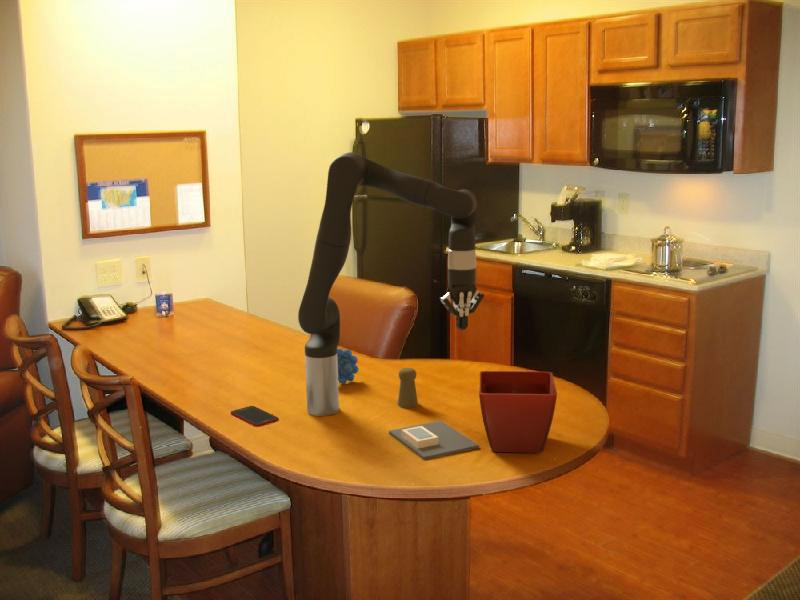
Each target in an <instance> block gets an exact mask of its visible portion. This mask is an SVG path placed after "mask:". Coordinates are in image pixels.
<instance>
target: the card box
mask: <svg viewBox="0 0 800 600" xmlns="http://www.w3.org/2000/svg"><path fill="white" fill-rule="evenodd" d="M402 438H404V439H405V440H406V441H408V442H409V443H411V444H412V445H413V446H415V447H416V448H417V449H419V448H423V447H428V446H433V445H438V437H437V436H436V435H434V434H433V433H432V432H430V431H429V430H427V429H426V428H424V427H423V426H419V427H413V428H408V429H403V430H402Z"/></svg>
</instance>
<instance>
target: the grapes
mask: <svg viewBox="0 0 800 600" xmlns="http://www.w3.org/2000/svg"><path fill="white" fill-rule="evenodd" d="M337 360H338V384H341V385H345V384H346V383H348V382H353V381H354V380H355V375H356V374H358V372H359V371H360V370H359V366H358V365H357V363H358V362H359V359H358V357H357V356H356V355H353V352H352V350H351V349H348V348H345V349H342V348H339V347H337Z"/></svg>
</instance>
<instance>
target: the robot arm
mask: <svg viewBox="0 0 800 600" xmlns="http://www.w3.org/2000/svg"><path fill="white" fill-rule="evenodd" d="M359 186H362V187H369V188H374V189H378V190H382V191H383V192H384V191H385V192H387V193H389V194H391V195H393V196H394V197H396V198H398V199H401V200H403V201H405V202H408V203H411V204H414V205H416V206H421V207H423V208H428V209H432V210H434V211H436V212H439V213H440V214H444V215H446V216H448V217H450V218H451V219H450V223H451V224H450V228H449V232H448V255H447V283H448V287H447V289H446V294H445V295H443V296H440V297H439V301H440V303H441V304H442V305H443V306H444V307H445V309H446V310H447V311H448V312H449V314H451V315H453V316H455V325H456V328H457V329H458V330H460V331H465V330H467V328H468V326H469V315H471V314H474V313H475V311H476V310H477V309H478V307H479V305H480V304H481V302H482V300H483V299H484V298H485V295H484V293H481V292H480V291H479V290H478V288H477V285H476V283H477V255H476V223H477V222H476V221H477V214H478V213H477V211H478V207H477V206H478V203H477V202H478V201H477V197H476V196H475V194H474V193H473V192H472V191H471V190H469V189H464V188H463V189H459V190H456V189H452V188H448V187H446V186H443V185H442V184H440V183H438V182H437V181H433V180H430V179H427V178H424V177H420V176H416V175H412V174H409V173H404V172H401V171H399V170H395V169H393V168H389V167H387V166H384V165H382V164H380V163H378V162H375V161H373V160H371V159H370V158H367V157H365V156H362V155H361V154H359V153H356V152H345V153H343V154H341V155H339V156H337V157H335V158H334V159H333V160H331V163H330V164H329V166H328V171H327V182H326V193H325V200H324V205H323V209H322V214H321V218H320V221H319V224H318V225H319V226H318V230H317V233H316V239H315V242H314V243H315V244H314V250H313V254H312V255H313V256H312V258H311V259H312V260H311V264H310V269H309V274H308V280H307V282H306V286H305V290H304V293H303V296H302V299H301V302H300V305H299V308H298V314H297V315H298V316H297V317H298V324H299V327H300V328H301V330H302V331H304V333H306V334H310V337H309V339H308V340H307V342H306V343H305V344H304V359H305V360H304V361H305V362H304V363H305V383H306V384H305V387H306V388H305V389H306V411H307V413H308V414H309V415H312V416H316V417H318V416H319V417H323V416H324V417H325V416H331V415H335V414H337V413H338V412H339V411H340V401H339V393H340V391H339V381H338V360H337V349H338V348H339V347H338V346H339V344H340V341H341V340H340V338H341V315H340V309H339V306H338V304H337V303H336V301H335V300H334V299H333V298H331V297H330V293H331V290H332V287H333V285H334V283H335V282H336V280H337V279H338V277H339V275H340V273H341V271H342V270H343V268H344V265H345V264H346V261H347V258H348V254H349V250H350V244H351V240H352V239H351V238H352V223H351V222H352V220H351V212H352V207H353V202H354V198H355V195H356V192H357V190H358V188H359ZM451 302H453V304H452V303H451Z"/></svg>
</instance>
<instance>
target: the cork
mask: <svg viewBox="0 0 800 600" xmlns="http://www.w3.org/2000/svg"><path fill="white" fill-rule="evenodd" d="M398 378H399V380H400V383H399V390H398V397H397V398H398V400H397V406H398V408H399V407H400V408H403V409H412V408H416V407H418V406H419V401H418V395H417V387H416V382H415V381H416V379H417V371H416V369H415V368H413V367H403V368H400V369H399V371H398ZM417 405H418V406H417ZM415 406H416V407H415Z"/></svg>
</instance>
